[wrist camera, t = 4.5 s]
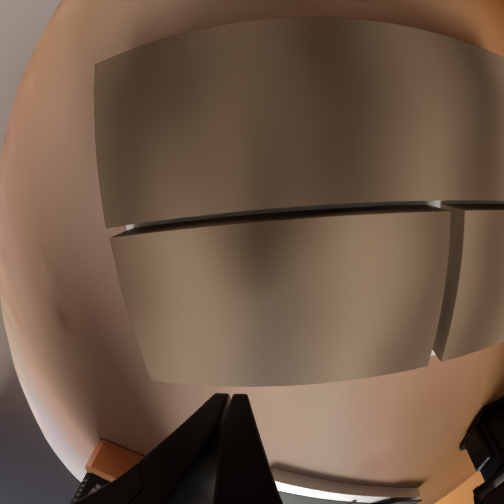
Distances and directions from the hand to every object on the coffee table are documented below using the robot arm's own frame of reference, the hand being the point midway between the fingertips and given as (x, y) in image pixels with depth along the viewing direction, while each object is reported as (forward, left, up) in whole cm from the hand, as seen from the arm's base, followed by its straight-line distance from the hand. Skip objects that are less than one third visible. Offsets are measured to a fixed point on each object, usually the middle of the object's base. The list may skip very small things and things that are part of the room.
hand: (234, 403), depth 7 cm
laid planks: (-5, -5, -5) cm, 9 cm away
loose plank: (-2, -1, -5) cm, 6 cm away
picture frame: (-4, +28, -7) cm, 29 cm away
